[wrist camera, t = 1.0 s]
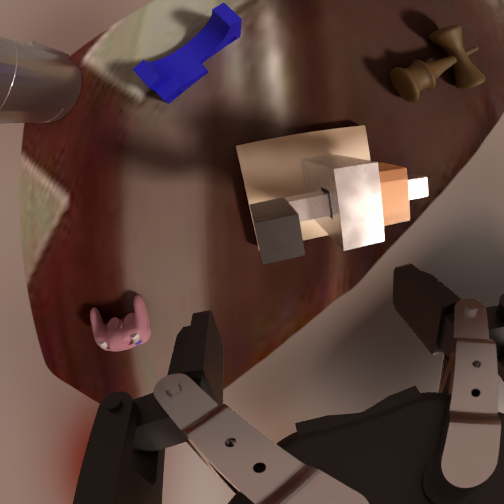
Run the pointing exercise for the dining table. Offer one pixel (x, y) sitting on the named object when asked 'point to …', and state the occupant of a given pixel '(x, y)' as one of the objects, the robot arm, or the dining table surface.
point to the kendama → (438, 66)
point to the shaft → (301, 219)
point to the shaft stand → (320, 180)
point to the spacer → (394, 193)
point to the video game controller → (118, 336)
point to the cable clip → (191, 56)
